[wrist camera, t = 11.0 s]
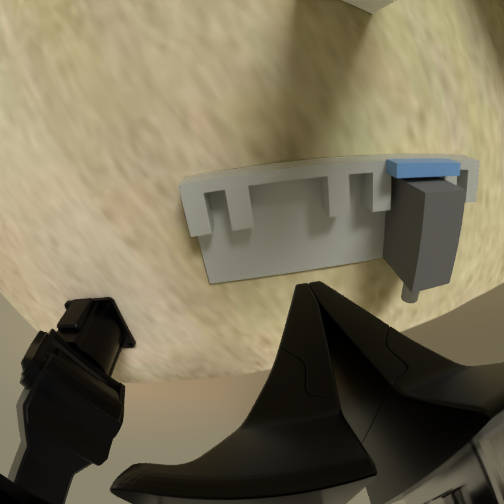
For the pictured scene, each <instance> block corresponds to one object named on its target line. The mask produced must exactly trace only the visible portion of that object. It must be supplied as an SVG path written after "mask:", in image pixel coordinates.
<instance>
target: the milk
mask: <svg viewBox="0 0 504 504" xmlns="http://www.w3.org/2000/svg"><path fill="white" fill-rule="evenodd" d="M342 1H344V2H347V3H349V4H351V5H354V6H356V7H358V8H360V9H363V10H365V11H367V12H369V13H371V14H374V13H376V12H377V11H379V10H381V9H382V8H384V7H386V6H388V5H389V4H391V3H393V2H395V1H396V0H342Z"/></svg>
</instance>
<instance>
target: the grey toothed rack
mask: <svg viewBox="0 0 504 504" xmlns="http://www.w3.org/2000/svg"><path fill="white" fill-rule="evenodd" d="M478 175H479V160H476V159H473V158H470V157H468V156H465V155H452V154H383V155H360V156H343V157H330V158H318V159H307V160H298V161H289V162H280V163H272V164H264V165H257V166H250V167H243V168H237V169H230V170H224V171H218V172H212V173H207V174H201V175H196V176H191V177H186V178H184V180H183V181H182V182H181V183H180V184H179V190H180V194H181V199H182V203H183V207H184V211H185V215H186V220H187V224H188V228H189V232H190V236H191V237H194V236H198V240H199V244H200V248H201V252H202V256H203V259H204V263H205V267H206V271H207V275H208V279H209V282H210V284H213V283H221V282H228V281H236V280H243V279H251V278H258V277H265V276H272V275H279V274H286V273H293V272H299V271H306V270H312V269H319V268H325V267H332V266H338V265H344V264H350V263H356V262H362V261H368V260H374V259H380V258H383V245H384V231H385V211H386V210H390V208H391V176H393V177H395V178H414V177H440V178H442V179H445V180H447V181H449V182H451V183H453V184H455V185H457V186H459V187H461V188H463V189H465V190H466V195H465V202H476V196H477V187H478Z"/></svg>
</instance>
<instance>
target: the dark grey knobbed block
mask: <svg viewBox="0 0 504 504" xmlns="http://www.w3.org/2000/svg"><path fill="white" fill-rule="evenodd" d="M465 195H466V190H465V189H463V188H461V187H459V186H457V185H455V184H453V183H451V182H449V181H447V180H445V179H442V178H440V177H414V178H395V177H393V176H391V208H390V210H386V211H385V231H384V245H383V258H384V259H385V260H386V261H387V263H388V264H389V265H390V266H391V267H392V269H393V270H394V271H395V272H396V274H397V275H398V276H399V277H400V279H401V280H402V281H403V282H404V283H403V289H402V294H401V298H402V300H403V301H405V302H407V303H414V302H416V301H417V299H418V295H419V291H422V290H425V289H429V288H433V287H437V286H441V285H444V284H448V283H449V282H450V278H451V274H452V270H453V266H454V261H455V257H456V252H457V247H458V242H459V237H460V231H461V225H462V219H463V211H464V204H465Z"/></svg>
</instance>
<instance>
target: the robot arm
mask: <svg viewBox="0 0 504 504" xmlns="http://www.w3.org/2000/svg"><path fill="white" fill-rule="evenodd" d="M109 302H110V303H109ZM65 308H66V312H65V313H64V315H63V316H62V318H61V319H60V321H59V322H58V324H57V328H58V331H57V332H56V331H55V330H54V329H53V328H52V329H51V330H50V331H49V333H47V332H43V331H39V332H38V334H37V336H36V337H35V339H34V340H33V342H32V343H31V345H30V347H29V348H28V350H27V352H26V354H25V356H24V358H23V360H22V362H21V365H22V369H23V371H22V374H21V375H22V377H21V380H20V384H21V385H23V386H24V387H25V388H24V390H23V392H22V394H21V396H20V398H19V400H18V402H17V405H16V408H17V416H18V425H19V432H20V437H21V443H20V445H19V448H18V451H17V453H16V456H15V458H14V461H13V464H12V467H11V469H10V472H9V475H8V478H6V477H5V476H3V475H1V474H0V504H65V501H66V497H67V494H68V491H69V488H70V485H71V482H72V479H73V477H74V475H75V474H76V473H78V472H79V471H81V470H83V469H84V468H86V467H88V466H89V465H91V464H92V463H93V464H95V465H98V466H99V465H101V464H102V463H103V462H105V461H106V460H107V458H108V455H109V450H110V447H111V444H112V441H113V438H114V437H115V436H116V435H117V433H118V432H119V430H120V428H121V425H122V423H123V418H124V397H125V386H124V385H123V384H122V383H119V382H117V381H116V380H114V379H113V378H112V377H111V375H112V373H113V370H114V367H115V365H116V362H117V359H118V357H119V354H120V352H121V349H122V348H133V347H134V346H135V344H136V342H135V340H134V338H133V337H132V335H131V333H130V331H129V329H128V327H127V325H126V323H125V321H124V320H123V318H122V316H121V314H120V312H119V310H118V307H117V305H116V303H115V301H114V300H113V299H112V298H110V297H104V298H94V299H92V298H87V299H75V300H71V301H67V302H66V303H65ZM365 486H366V489H367V493H368V496H369V499H370V502H371V504H391V503H393V502H396V501H399V500H401V499H404V500H405V503H406V504H504V362H503V363H496V364H489V365H480V366H465V365H460V364H458V363H455V362H453V361H451V360H449V359H447V358H445V357H443V356H441V355H439V354H438V353H436V352H434V351H432V350H430V349H428V348H426V347H424V346H422V345H420V344H419V343H417V342H415V341H413V340H411V339H409V338H408V337H406V336H405V335H403V334H401V333H400V332H398V331H397V330H395V329H394V328H392V327H389V325H387V324H386V323H384V322H383V321H381V320H380V319H378V318H377V317H375V316H374V315H372V314H371V313H369V312H367V311H366V310H364V309H363V308H361V307H360V306H358V305H357V304H355V303H354V302H352V301H351V300H349V299H347V298H346V297H344V296H343V295H341V294H340V293H338V292H337V291H335V290H333V289H332V288H330V287H329V286H327V285H326V284H324V283H323V282H321V281H317V282H311V283H309V284H308V283H304V284H297V285H296V286H295V290H294V294H293V298H292V302H291V306H290V309H289V313H288V317H287V321H286V324H285V328H284V331H283V335H282V339H281V342H280V346H279V349H278V352H277V356H276V359H275V362H274V364H273V367H272V370H271V372H270V374H269V377H268V379H267V381H266V383H265V385H264V387H263V389H262V391H261V393H260V395H259V396H258V398H257V400H256V402H255V404H254V406H253V407H252V409H251V411H250V413H249V414H248V416H247V418H246V419H245V421H244V422H243V424H242V425H241V426H240V427H239V428H238V429H237V430H236V431H235V432H234V433H232V434H231V435H230V436H228V437H227V438H226V439H224V440H223V441H222V442H220V443H219V444H218V445H216V446H215V447H213V448H212V449H211V450H209V451H208V452H206V453H205V454H204V455H202V456H201V457H199V458H197V459H195V460H194V461H191V462H188V463H185V464H179V465H163V464H151V463H138V464H134V465H131V466H130V467H129V468H128V469H126V470H125V471H124V472H123V473H121V474H120V475H119V476H118V477H117V478H116V480H115V481H114V482H113V484H112V486H111V488H110V491H111V493H113V494H114V495H116V496H117V497H120V498H122V499H123V500H126V501H128V502H130V503H132V504H346V503H347V502H348V501H350V500H351V499H352V498H353V497H354V496H355V495H356V494H357V493H359V492H360V491H361V490H362V489H363V488H364V487H365Z"/></svg>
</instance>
